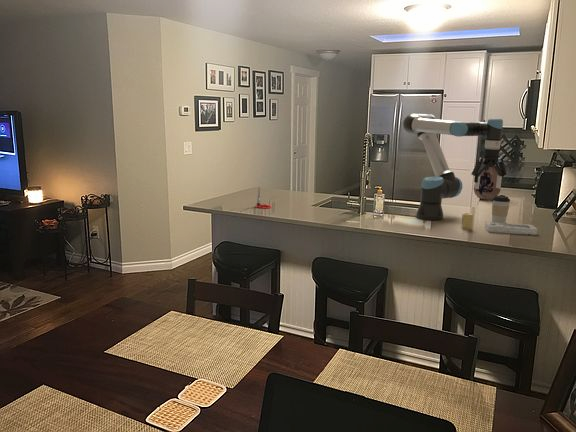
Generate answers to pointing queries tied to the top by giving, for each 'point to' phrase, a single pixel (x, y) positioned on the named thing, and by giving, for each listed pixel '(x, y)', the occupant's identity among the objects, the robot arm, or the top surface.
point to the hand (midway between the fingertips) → (487, 188)
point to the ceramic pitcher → (487, 184)
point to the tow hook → (259, 202)
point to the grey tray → (510, 228)
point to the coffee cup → (500, 209)
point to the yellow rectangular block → (467, 221)
